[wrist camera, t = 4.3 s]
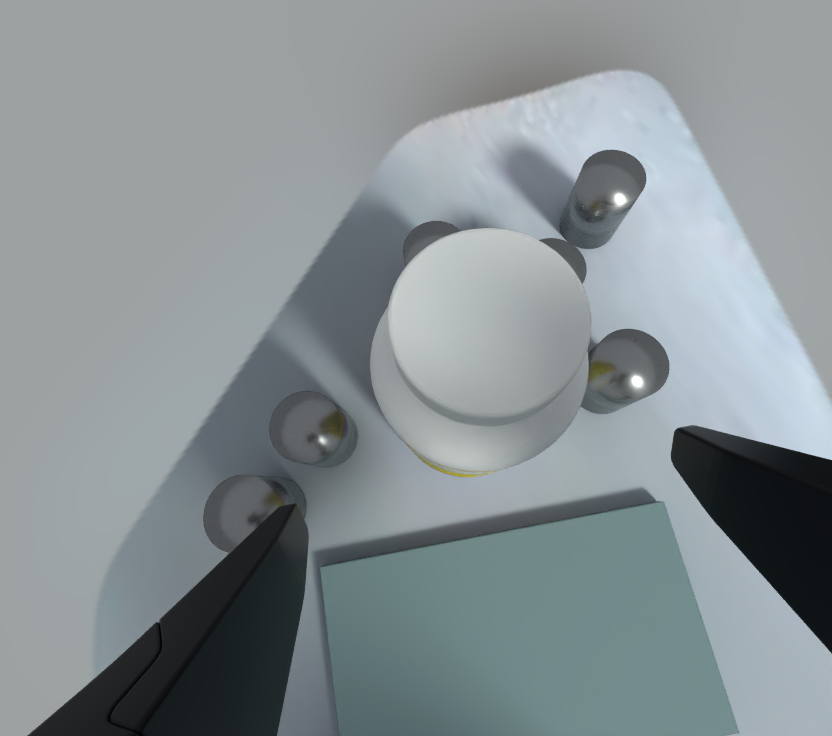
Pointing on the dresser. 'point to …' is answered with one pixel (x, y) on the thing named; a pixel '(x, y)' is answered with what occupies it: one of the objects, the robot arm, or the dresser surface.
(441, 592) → the rubber mat
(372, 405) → the dresser surface
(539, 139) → the dresser surface
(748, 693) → the dresser surface
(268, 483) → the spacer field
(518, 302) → the supplement bottle
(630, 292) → the dresser surface
